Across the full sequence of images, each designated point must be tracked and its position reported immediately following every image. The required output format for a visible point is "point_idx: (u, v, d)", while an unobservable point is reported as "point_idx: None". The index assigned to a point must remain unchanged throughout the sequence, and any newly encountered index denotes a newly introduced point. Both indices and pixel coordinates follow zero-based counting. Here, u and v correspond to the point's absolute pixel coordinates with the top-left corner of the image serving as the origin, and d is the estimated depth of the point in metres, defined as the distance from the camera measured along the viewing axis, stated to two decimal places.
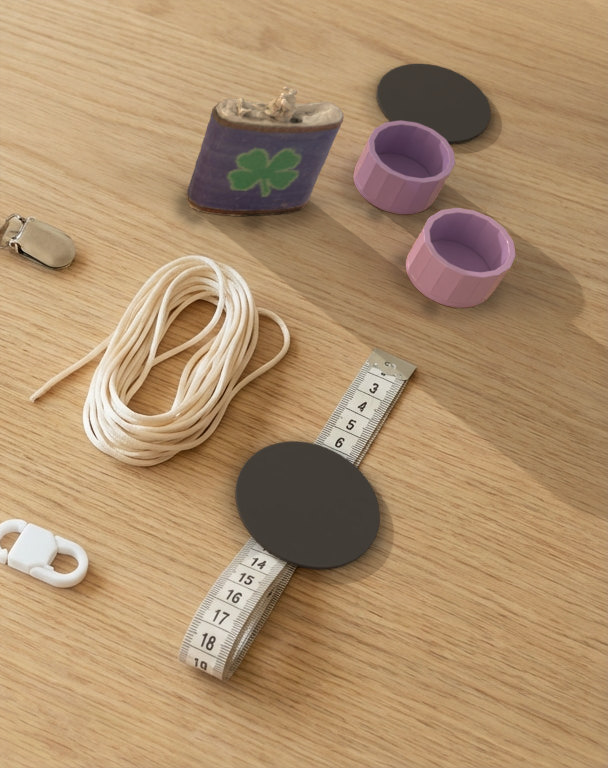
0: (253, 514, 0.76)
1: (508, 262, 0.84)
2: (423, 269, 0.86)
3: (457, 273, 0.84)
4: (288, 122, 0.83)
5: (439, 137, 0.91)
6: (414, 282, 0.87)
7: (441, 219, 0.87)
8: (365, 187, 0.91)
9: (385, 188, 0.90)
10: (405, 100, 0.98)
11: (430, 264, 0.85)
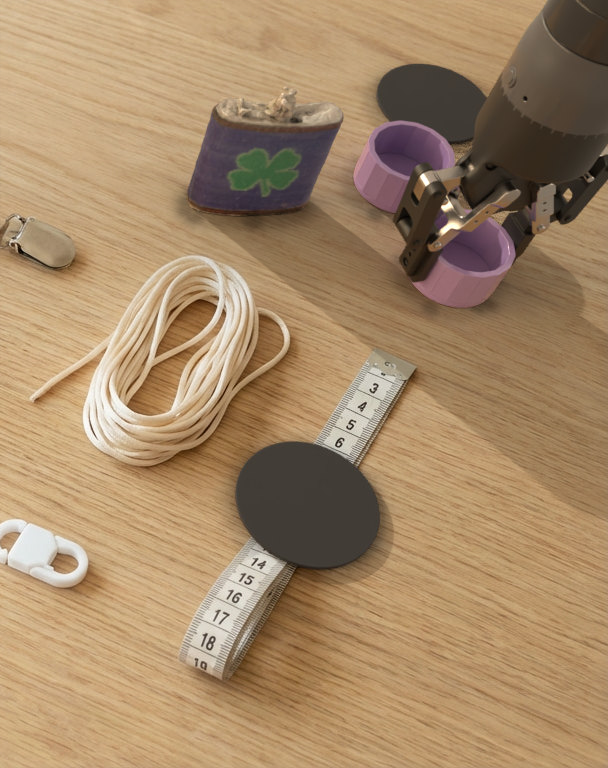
0: (253, 514, 0.76)
1: (508, 262, 0.84)
2: None
3: (457, 273, 0.84)
4: (288, 122, 0.83)
5: (439, 137, 0.91)
6: (414, 282, 0.87)
7: (441, 219, 0.87)
8: (365, 187, 0.91)
9: (385, 188, 0.90)
10: (405, 100, 0.98)
11: None
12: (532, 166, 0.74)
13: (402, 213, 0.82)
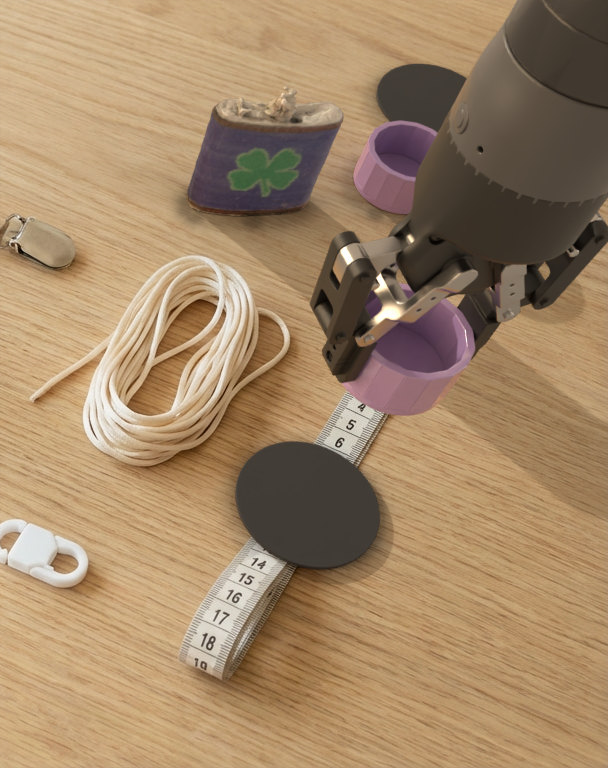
0: (253, 514, 0.76)
1: (465, 359, 0.63)
2: None
3: (396, 374, 0.63)
4: (288, 122, 0.83)
5: None
6: None
7: None
8: (365, 187, 0.91)
9: (385, 188, 0.90)
10: (405, 100, 0.98)
11: None
12: (492, 242, 0.53)
13: (321, 296, 0.61)
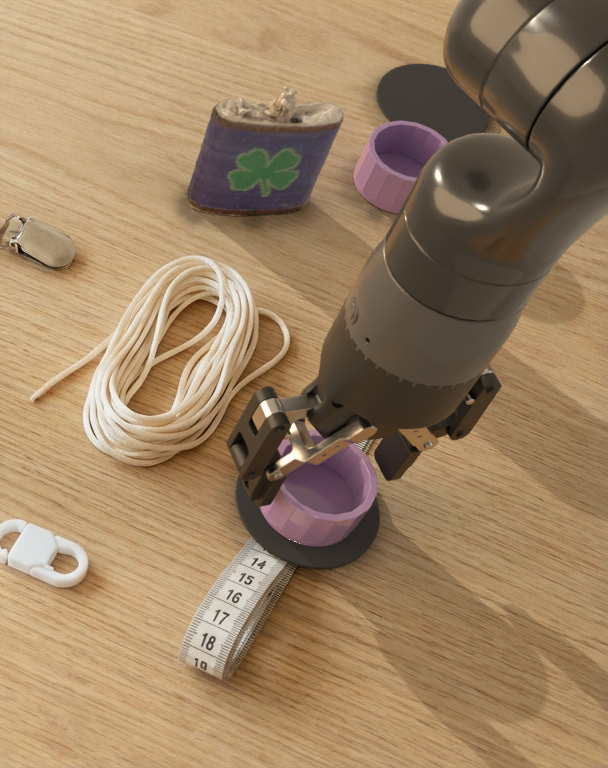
0: (253, 514, 0.76)
1: (368, 501, 0.73)
2: (272, 504, 0.74)
3: (308, 515, 0.72)
4: (288, 122, 0.83)
5: (439, 137, 0.91)
6: (265, 515, 0.76)
7: None
8: (365, 187, 0.91)
9: (385, 188, 0.90)
10: (405, 100, 0.98)
11: (279, 501, 0.73)
12: (382, 412, 0.62)
13: (237, 437, 0.69)
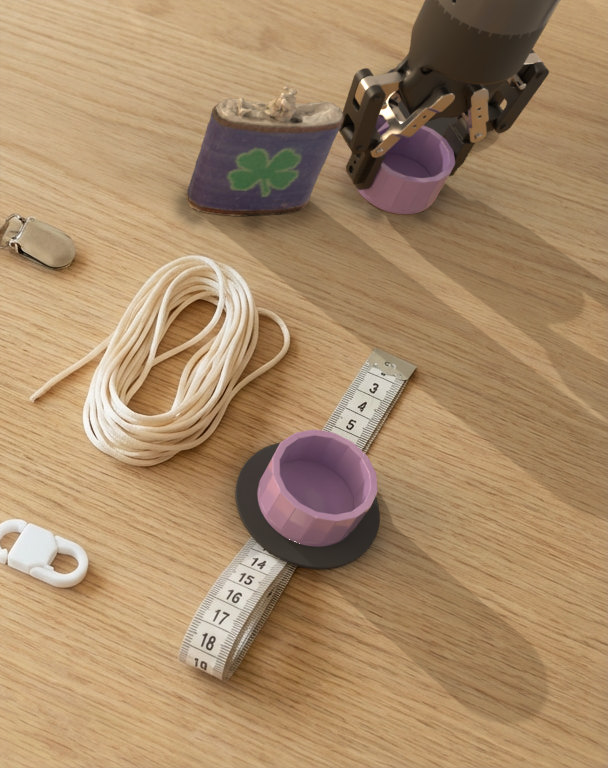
0: (253, 514, 0.76)
1: (368, 501, 0.73)
2: (272, 504, 0.74)
3: (308, 515, 0.72)
4: (288, 122, 0.83)
5: (439, 137, 0.91)
6: (265, 515, 0.76)
7: (296, 443, 0.75)
8: None
9: (385, 188, 0.90)
10: None
11: (279, 501, 0.73)
12: (462, 67, 0.79)
13: (346, 120, 0.87)
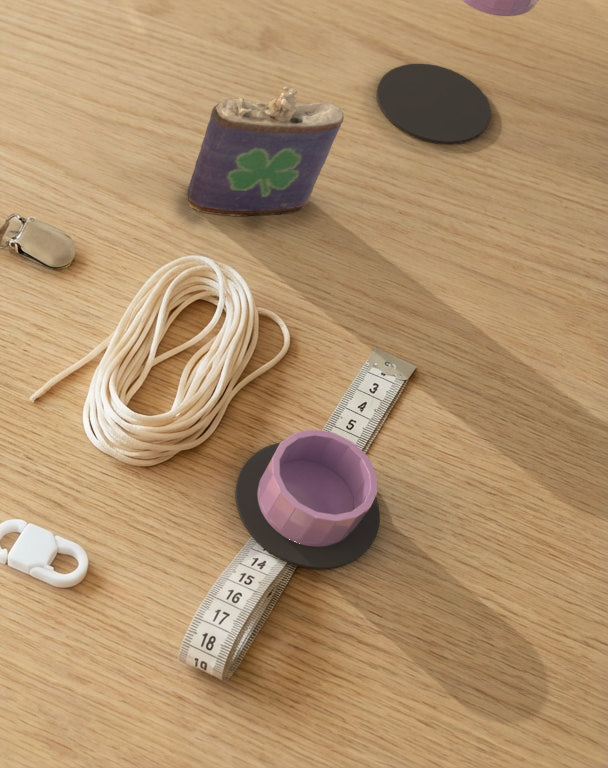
0: (253, 514, 0.76)
1: (368, 501, 0.73)
2: (272, 504, 0.74)
3: (308, 515, 0.72)
4: (288, 122, 0.83)
5: None
6: (265, 515, 0.76)
7: (296, 443, 0.75)
8: None
9: None
10: (405, 100, 0.98)
11: (279, 501, 0.73)
12: None
13: None
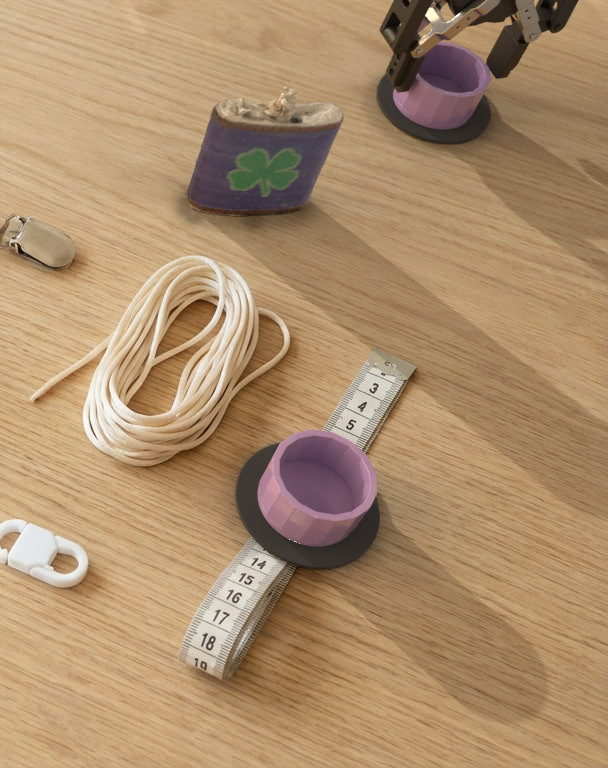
0: (253, 514, 0.76)
1: (368, 501, 0.73)
2: (272, 504, 0.74)
3: (308, 515, 0.72)
4: (288, 122, 0.83)
5: (475, 56, 0.96)
6: (265, 515, 0.76)
7: (296, 443, 0.75)
8: (405, 104, 0.96)
9: (425, 103, 0.95)
10: None
11: (279, 501, 0.73)
12: None
13: (390, 20, 0.90)
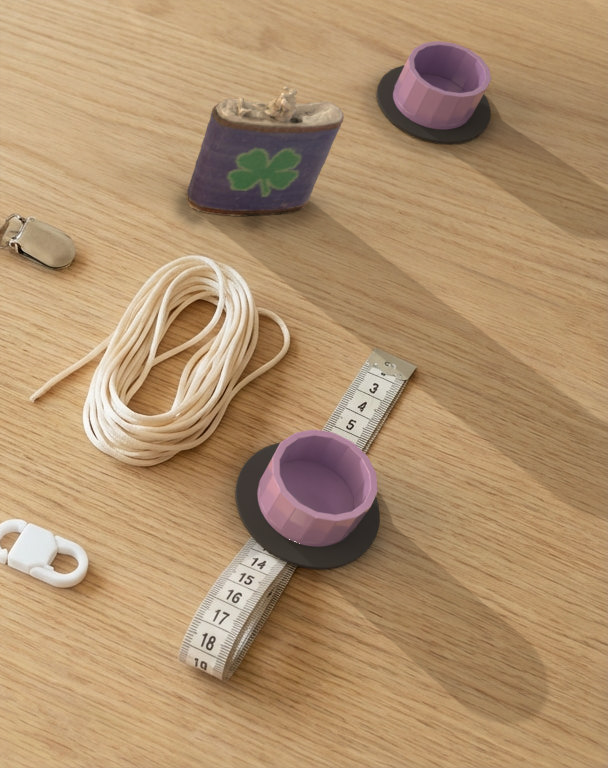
0: (253, 514, 0.76)
1: (368, 501, 0.73)
2: (272, 504, 0.74)
3: (308, 515, 0.72)
4: (288, 122, 0.83)
5: (475, 56, 0.96)
6: (265, 515, 0.76)
7: (296, 443, 0.75)
8: (405, 104, 0.96)
9: (425, 103, 0.95)
10: None
11: (279, 501, 0.73)
12: None
13: None
